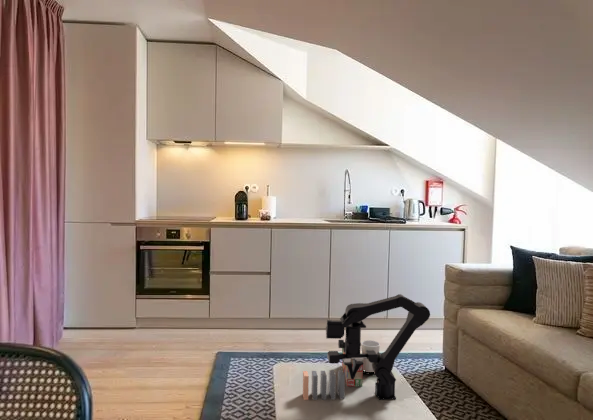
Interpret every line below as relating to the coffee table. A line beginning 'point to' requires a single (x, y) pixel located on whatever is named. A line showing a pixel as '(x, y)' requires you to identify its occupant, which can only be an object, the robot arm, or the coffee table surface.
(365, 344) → the cup
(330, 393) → the domino
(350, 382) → the stack of blocks
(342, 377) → the domino
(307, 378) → the domino
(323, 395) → the domino
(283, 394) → the coffee table surface
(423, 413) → the coffee table surface
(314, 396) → the domino
